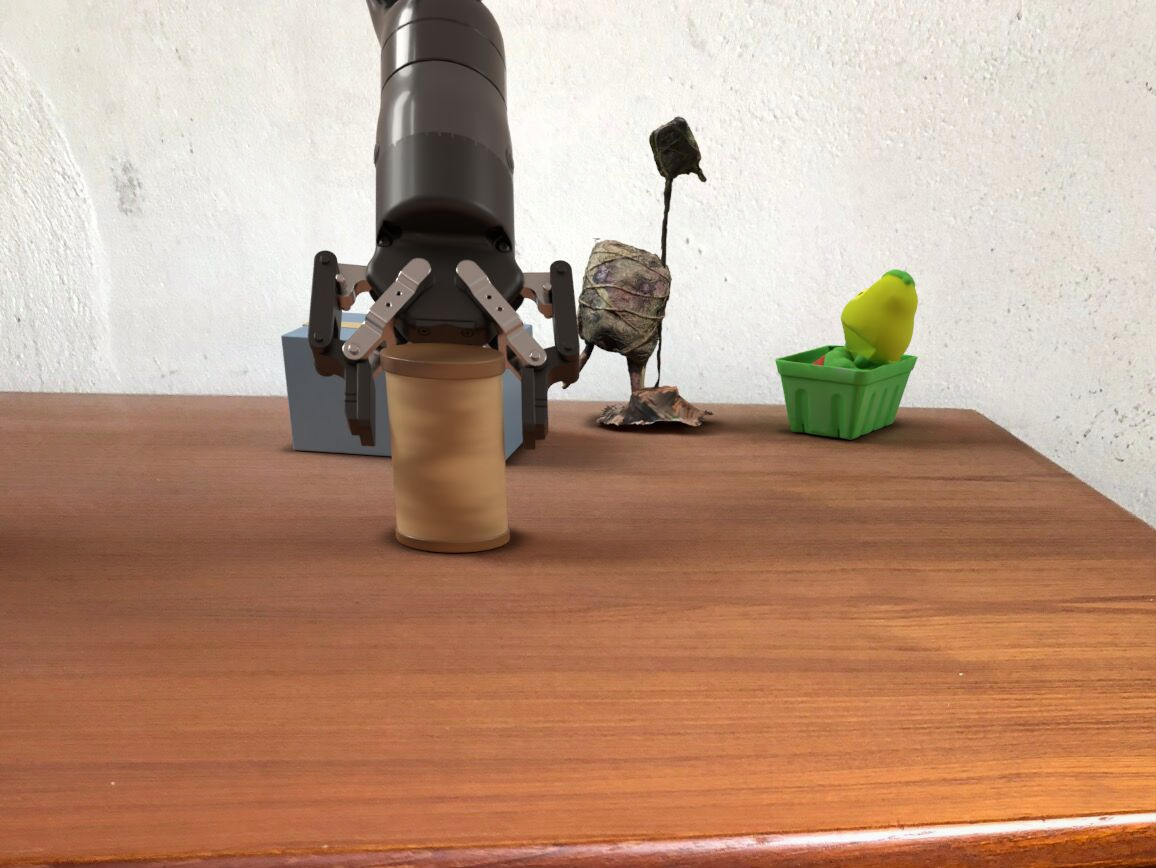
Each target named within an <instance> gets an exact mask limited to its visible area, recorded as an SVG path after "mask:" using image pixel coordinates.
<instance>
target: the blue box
mask: <svg viewBox="0 0 1156 868" xmlns="http://www.w3.org/2000/svg"><path fill="white" fill-rule="evenodd" d="M366 314H367V313H362V312H361V313H358V312H346V311H342V320H341V333H340V340H342V341H345V342H346V341H347V340H348V339H349V338H350V337H351V336H352V335H353V334H354V333H355V331H356V330H357V329H358V328H359V327H360V326H361V325H362V324H363V323H364V321H365V317H366ZM308 325H309V321H306V322H305V323H302V326H301V327H298V328H296V329H293V330H291V331H288V332H286V333H284V334H282V335H280V338H281V339H280V340H281V348H282V356H283V367H284V375H285V376H284V377H285V385H286V393H287V401H288V403H287V404H288V413H289V422H290V430H291V441H292V448H293V449H292V450H294V451H303V452H315V453H317V452H318V453H333V454H348V455H364V456H376V457H377V456H379V457H392V453H391V440H390V427H389V414H388V401H387V388H386V375H385V370H382V371H381V372H380V373H379V374H378V375H377V376H376V378H375V379H374V384H375V389H376V444H375V447H372V446H362V445H361V441H360V437H359V436H355V435H352V434H351V432H350V430H349V428H348V424H347V420H346V416H345V411H344V402H345V401H344V395H345V393H344V391H345V380H344V379H343V378H342V377H340V376H337V375H332V376H329V377H324V376H321V375H319V374H318V373H317V372H316V370H315V366H314V358H313V354H312V351H311V348H310V346H309V342H308ZM523 325H524V327H525V329H526V330H527V331H528V332H529V333H530V335H531V336H532V337H533V338H534V335H533V332H534V331H533V330H534V329H533V325H532V324H529V323H523ZM483 347H486V346H483ZM502 389H503V415H504V442H505V462H506V461H507V460H508V458H510V457H511V455H512V454H513V453H514V452H515V451H517V449H518V448H519V447H520V446H521V445H522V444H523V436H522V399H521V381H520V380H519V379H518V378H517V377H516V376H515V374H514V373H513V372H512V371H511V370H510V369H509V368H508V369H506V370H505V372H504V373H503V374H502Z"/></svg>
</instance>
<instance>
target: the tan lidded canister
mask: <svg viewBox="0 0 1156 868" xmlns="http://www.w3.org/2000/svg"><path fill="white" fill-rule="evenodd" d="M380 361H381V368H382V369H383V370H385V375H386V388H387V401H388V414H389V427H390V440H391V453H392V456H391V464H392V466H391V467H392V478H393V490H394V491H393V492H394V505H395V517H396V525H395V527H394V529H395V538H396V540H397V542H398V543H400V544H402V545H403V546H406V547H408V548H412V549H416V550H420V551H425V552H434V553H445V554H448V553H449V554H450V553H451V554H457V553H458V554H461V553H477V552H484V551H488V550H493V549H496V548H500V547H502V546H505V545H507V544H508V543H509V541H510V539H511V531H510V529H511V528H510V526H509V524H508V523H509V521H508V503H507V502H508V500H507V499H508V498H507V497H508V495H507V472H506V471H507V470H506V461H505V442H504V415H503V389H502V374H503V373H504V372H505V370H506V367H505V354H504V353H502V352H501V351H498V350H495V349H491V348H487V347H481V346H474V345H464V344H449V343H415V344H402V345H395V346H390V347H386V348H384V349H382V350H381V351H380Z"/></svg>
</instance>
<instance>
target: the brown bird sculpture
mask: <svg viewBox="0 0 1156 868" xmlns="http://www.w3.org/2000/svg"><path fill="white" fill-rule="evenodd" d="M648 142H649V146H650V149H651V152H652V156H653V161H654V162H655V163H654V164H655V165H656V170H657V171H658V174H659V176H660V177H663V178H664V181H665V182H664V189H663V193H662V194H663V204H664V205H663V206H664V209H663V218H662V223H661V236H660V245H661V246H660V250H661V255H660V256H659V255H658V254H657V253H652V252H650V251H648V250H646V249H642V248H638V247H636V246H633V245H630V244H627V243H624V242H621V241H618V240H616V239H604V240H601V238H599V237H598V238H593V237H592V239H594V240H596V241H597V242H595V243H594V246H593V247H592V249H591V252H590V255H589V257H588V261H587V265H586V267H585V269H584V275H583V277H582V284H581V285H582V286H581V292H580V293H579V296H578V299H577V301H578V305H577V310H576V315H577V324H578V334H579V340H582V341H584V345H585V346H584V349H583V350H582V352H580V369H579V374H580V373H581V372H582V370H583V369H584V367H585V366H586V365H587V363H588V360H589V359H591V355H592V353H593V351H594V349H595V346H596V347H597V348H599V349H600V350H603V351H605V352H608V353H616V354H619V355H621V357H622V356H623V357H625V358H626V365H627V371H628V374H629V380H630V381H629V382H630V390H631V394H630V396H629V400H628V402H627V404H621V403H620V402H618V404H614V405H607V404H606V407H604V408H603V409H601V411H602V412H600V416H599V418H598V419H597V420H596V421H595V423H596V424H597V423H598V424H602V423H603V424H604V425H610V424H614V425H616V426H624V427H626V426H629V425H635V424H636V425H642V426H644V425H651V424H654V423H656V422H658V421H661V422H663V421H664V422H678V423H679V422H680V423H683V424H686V425H689V426H693V427H698V426H700V425H702V424H703V421H705V420H706V419H705V418H704V417H706V416H714V415H715V413H714V412H713V411H708V409H706V410H705V411H704V410H702V409H700V408H698V407H696V406H694V405H693V404H691V403H690V402H689V401H687V400H686V399H685V398H684V397H683V396H681V395H680V391H679V388H678V387H677V386H676V385H675V386H674V385H673V386H671V385H662V386H660V380H661V366H662V365H661V364H662V360H661V353H662V341H663V337H662V336H663V335H662V333H663V320H664V319H665V317H666V308H667V304H668V302H669V301H670V295H671V288H672V287H671V286H672V282H673V281H672V280H673V278H672V275H671V271H670V267H669V265H668V264H667V237H668V222H669V221H668V219H669V212H670V210H671V200H672V191H673V182H674V179H677V178H678V176H682V175H687V176H690V174H694V175H697V177H698V178H697V179H698V180H699V181H700V182H701V183H706V182H707V180H708V179H707V177H706V176H705V174H704V173H703V169H702V168H701V166H700V162H701V161H702V155H701V150H700V147H699V144H698V142H697V139H696V138H695V135H694V133H693V131H692V129H691V127H690V125H689V123H688V121H687V120H686V119H685V118H684V117H682V116H680V115H678V116H675V117H674V118H673V119H671V120H670V121H668V122H666V123H665V124H661V125H659V126H658V127H657V128H656V129H653V130H652V131H651V133H650V135H649V139H648ZM599 240H601V241H599ZM598 241H599V242H598ZM657 346H658V348H657ZM656 348H657V351H656V367H657V368H656V369H657V380H656V382H655V384H654V386H645V378H646V371H647V366H648V365H647V364H648V363H649V359H650V358H651V357H652V355H653V354H654V352H655V350H656ZM570 386H571V384H565V383H563V382H562V385H561V389H562V390H567V389H568V388H570ZM701 421H702V422H701Z"/></svg>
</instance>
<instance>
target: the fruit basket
mask: <svg viewBox="0 0 1156 868" xmlns="http://www.w3.org/2000/svg"><path fill="white" fill-rule="evenodd" d="M918 305H919V296H918V293H917V290H916V281H915V280H914V278H913V277H912V275H911V274H910V273H908V272H907V271H905V270H901V269H898V268H894V269H891V270H888V271H886V272H885V273H884V274H883V275H882V276H881V278H879V279H878V280H877V281H875V282H874V283H873V284H871V285H870V286H869V288H865V289H864V290H862V291H860V292H858V293H857V294H856V295H855V296H854V298H853V299H851V300H849V301H848V302H847V303H846V304H845V306H844V307H843V309H842V312H841V315H840V321H841V326H842V329H843V335H844V341H845V343H844V345H835V344H828V345H827V344H826V345H823V346H820V347H816V348H811V349H809V350H804V351H799V352H797V353H794V354H789V355H786V356H783V357H778V358H775V365H776V368H777V369H776V370H777V373H778V375H779V376H780V380H781V381H780V382H781V386H782V390H783V391H782V392H783V396H784V402H785V407H786V412H787V418H788V423H789V429H790V431H791V432H794V433H805V434H808V435H815V436H820V437H821V436H822V437H828V438H836V439H838V438H840V439H845V440H849V441H852V440H854V439H857V438H859V437H860V436H865V435H867V434H870V433H871V432H873V431H874V432H875V431H878V430H880V429H882V428H884V427H887V426H890V425H892V424H893V423H894V422H895V419H896V416H897V413H898V410H899V407H900V405H901V402H902V399H903V395H904V393H905V389H906V387H907V385H908V381H909V378H910V375H911V373H912V371H913V370H914V368H915V366H916V363H917V360H918V358H919V356H917V355H910V354H906V352H907V350H908V349H909V346H910V344H911V343H912V338H913V334H914V329H915V328H914V326H915V316H916V313H917V309H918Z"/></svg>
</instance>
